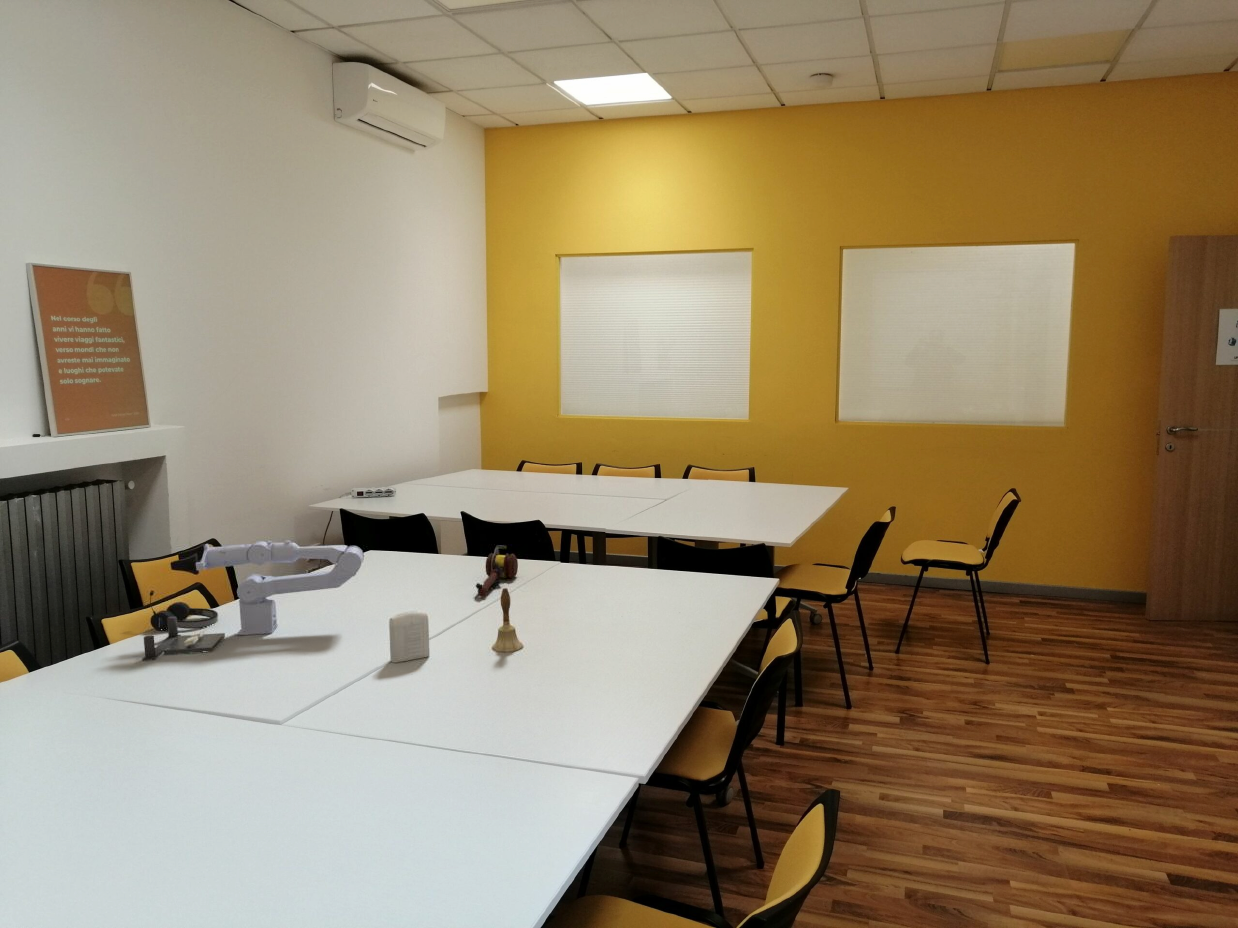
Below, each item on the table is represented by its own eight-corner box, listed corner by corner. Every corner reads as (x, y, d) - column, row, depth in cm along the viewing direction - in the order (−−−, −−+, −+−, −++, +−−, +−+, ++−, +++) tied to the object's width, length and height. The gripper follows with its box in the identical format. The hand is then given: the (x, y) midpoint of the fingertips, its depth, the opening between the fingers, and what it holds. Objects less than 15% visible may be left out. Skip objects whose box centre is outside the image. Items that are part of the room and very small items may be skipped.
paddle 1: (198, 639, 250) (197, 635, 250) (194, 643, 247) (193, 639, 246) (189, 641, 250) (188, 638, 250) (185, 645, 246) (184, 642, 246)
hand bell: (485, 649, 243) (483, 590, 241) (503, 640, 251) (501, 583, 249) (511, 654, 239) (509, 594, 238) (529, 644, 247) (527, 586, 245)
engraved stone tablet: (426, 652, 242) (424, 606, 241) (432, 656, 238) (430, 610, 237) (388, 660, 236) (385, 613, 235) (393, 664, 233) (391, 617, 231)
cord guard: (180, 636, 261) (179, 615, 260) (154, 660, 240) (152, 638, 239) (169, 637, 260) (168, 616, 260) (142, 661, 240) (140, 638, 239)
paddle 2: (204, 632, 256) (203, 629, 256) (200, 636, 252) (199, 633, 252) (195, 635, 256) (194, 631, 256) (191, 639, 252) (190, 635, 252)
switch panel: (224, 637, 259) (224, 632, 258) (211, 651, 246) (211, 647, 246) (179, 639, 257) (179, 635, 257) (164, 654, 244) (163, 650, 244)
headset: (159, 585, 278) (226, 591, 278) (158, 616, 279) (224, 622, 279) (136, 597, 265) (206, 603, 265) (135, 629, 266) (205, 635, 266)
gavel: (497, 606, 295) (466, 605, 296) (520, 572, 328) (493, 571, 330) (495, 576, 293) (465, 575, 294) (519, 545, 326) (491, 544, 327)
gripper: (229, 535, 266) (179, 540, 264) (218, 550, 252) (165, 556, 250) (233, 558, 268) (183, 563, 266) (222, 574, 254) (169, 580, 252)
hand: (174, 561), depth 258 cm, fingers open, 7 cm apart
